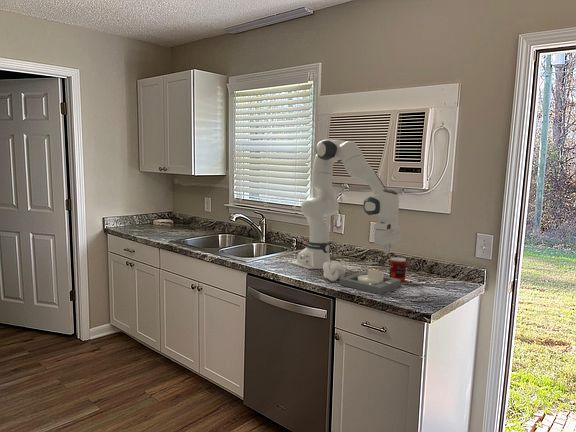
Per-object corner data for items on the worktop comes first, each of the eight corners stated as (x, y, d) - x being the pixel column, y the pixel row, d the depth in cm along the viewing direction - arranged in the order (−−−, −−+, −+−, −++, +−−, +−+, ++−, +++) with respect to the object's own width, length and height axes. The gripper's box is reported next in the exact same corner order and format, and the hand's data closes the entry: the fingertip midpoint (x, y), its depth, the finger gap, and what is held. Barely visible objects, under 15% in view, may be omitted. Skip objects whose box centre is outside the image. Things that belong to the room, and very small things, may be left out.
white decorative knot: (335, 284, 217) (335, 266, 215) (315, 279, 224) (316, 262, 223) (348, 279, 225) (348, 262, 224) (328, 275, 233) (329, 258, 232)
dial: (352, 282, 215) (353, 269, 215) (365, 277, 224) (366, 265, 224) (375, 287, 207) (376, 274, 206) (388, 282, 216) (388, 269, 215)
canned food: (393, 277, 232) (394, 256, 231) (407, 280, 227) (408, 259, 226) (386, 280, 226) (387, 258, 225) (401, 283, 221) (402, 261, 220)
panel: (339, 284, 216) (339, 278, 215) (361, 277, 231) (361, 271, 230) (379, 294, 201) (380, 287, 201) (400, 285, 217) (400, 279, 216)
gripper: (393, 221, 223) (391, 248, 225) (372, 225, 208) (370, 254, 209) (404, 222, 219) (403, 250, 220) (384, 226, 203) (382, 256, 205)
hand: (387, 252), depth 215 cm, fingers closed
